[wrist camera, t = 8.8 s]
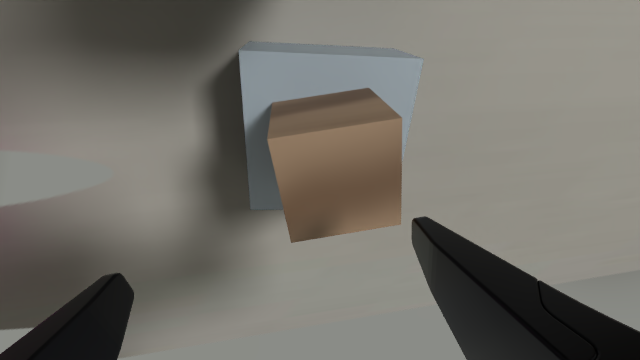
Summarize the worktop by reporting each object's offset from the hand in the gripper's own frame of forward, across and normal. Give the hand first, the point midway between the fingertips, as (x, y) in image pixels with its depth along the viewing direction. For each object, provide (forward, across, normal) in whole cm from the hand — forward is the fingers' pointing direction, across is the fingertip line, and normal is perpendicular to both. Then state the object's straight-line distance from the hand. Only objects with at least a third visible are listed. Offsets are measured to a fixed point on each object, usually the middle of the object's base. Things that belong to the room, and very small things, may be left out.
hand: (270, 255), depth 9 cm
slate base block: (+13, -3, 0) cm, 14 cm away
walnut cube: (+8, -3, 0) cm, 9 cm away
